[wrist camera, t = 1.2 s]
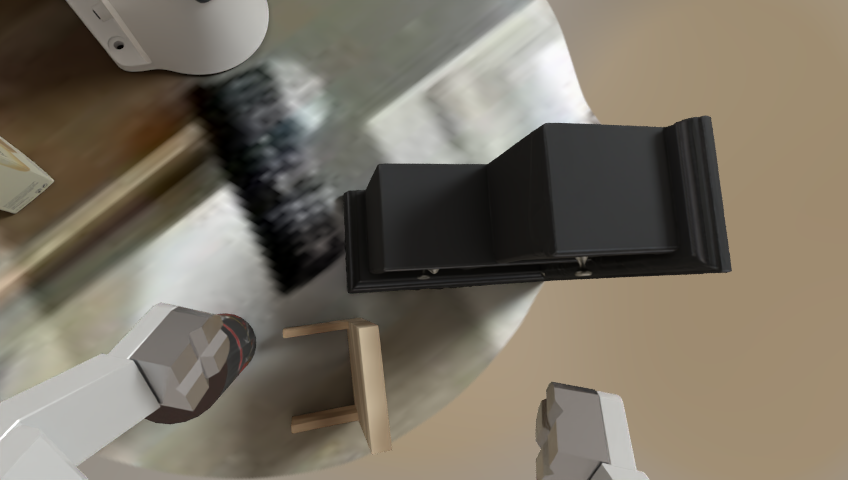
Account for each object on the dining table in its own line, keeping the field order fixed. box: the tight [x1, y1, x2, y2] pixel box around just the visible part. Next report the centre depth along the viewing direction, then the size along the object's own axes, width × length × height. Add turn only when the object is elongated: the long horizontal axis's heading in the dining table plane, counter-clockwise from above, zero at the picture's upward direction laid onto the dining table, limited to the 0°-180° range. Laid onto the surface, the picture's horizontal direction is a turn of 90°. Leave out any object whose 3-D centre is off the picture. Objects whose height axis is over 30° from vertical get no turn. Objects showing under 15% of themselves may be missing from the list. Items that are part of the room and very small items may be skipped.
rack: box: [283, 318, 392, 454], centre depth 37 cm, size 8×9×12 cm
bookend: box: [344, 116, 732, 293], centre depth 37 cm, size 23×11×24 cm, turn 94°
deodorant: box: [144, 314, 256, 424], centre depth 34 cm, size 6×6×15 cm
